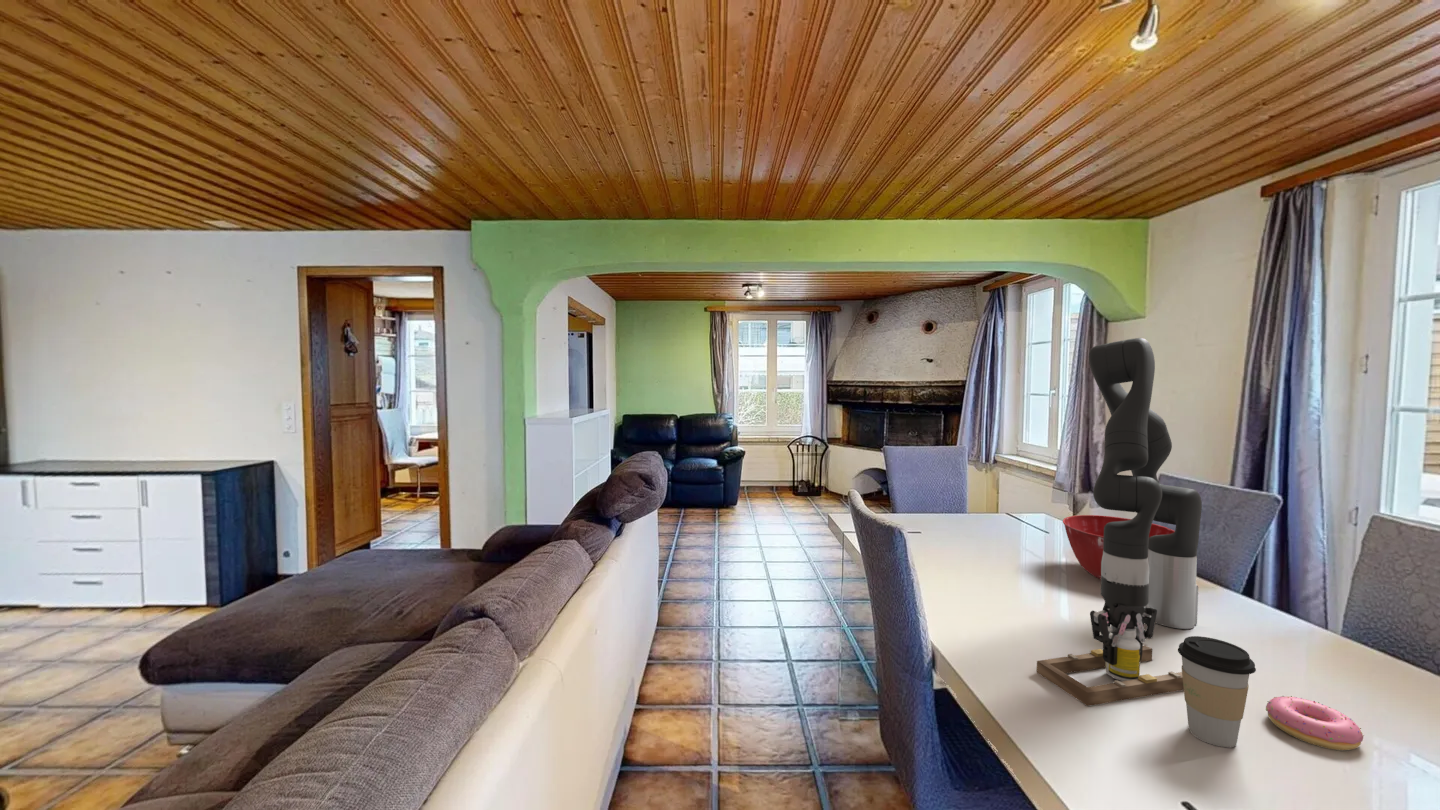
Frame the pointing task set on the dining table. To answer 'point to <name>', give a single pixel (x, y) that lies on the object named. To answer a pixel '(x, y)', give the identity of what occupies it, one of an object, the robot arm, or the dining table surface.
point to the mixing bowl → (1095, 538)
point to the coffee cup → (1215, 688)
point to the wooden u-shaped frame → (1107, 692)
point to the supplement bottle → (1126, 657)
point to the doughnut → (1314, 723)
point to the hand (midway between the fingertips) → (1122, 660)
